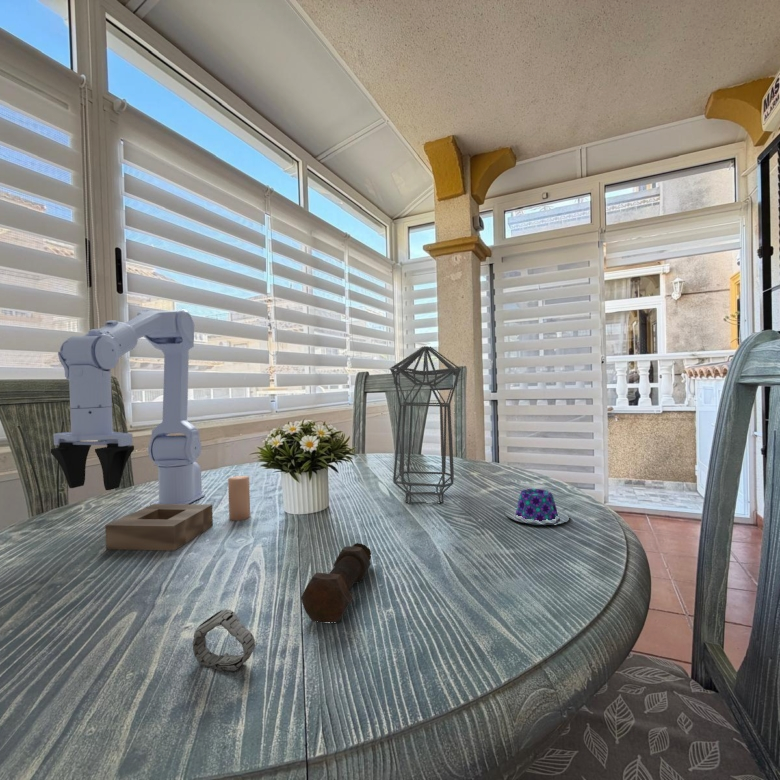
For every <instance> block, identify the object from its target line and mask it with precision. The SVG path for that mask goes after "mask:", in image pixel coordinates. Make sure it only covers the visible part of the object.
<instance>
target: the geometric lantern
mask: <svg viewBox="0 0 780 780" xmlns="http://www.w3.org/2000/svg"><path fill="white" fill-rule="evenodd" d="M430 353H431V354H432V355H433V356H435V357H436V359H438V361H440V363H442V364H443V365H444V366H445V367H446V368H442V369H441V368H440V369H436V368H435V366H434V361H433V360H432V357H431V354H430ZM422 357H423V365H422V367H423V368H422V370H419V369H418V370H417V368H418V366H419V364H420V361H421V359H422ZM416 360H417V361H416ZM415 361H416V363H415V365H414V367H413V368H409V367H410V366H411V365H412V364H413V363H414V362H415ZM428 361H429V362H430V365H431V370H430V369H429V362H428ZM388 370H390V373H391V375H392V377H393V385H394V386H395V391H396V397H397V398H396V399H397V401H398V405H399V408H398V415H397V416H398V419H397V429H396V431H397V432H396V443H395V452H394V453H395V455H394V463H393V464H394V465H393V466H394V468H393V478H392V482H393V484H394V485H395V486H397V487H398V488H399V489H400V490H401V491H403V492H404V494H405V496H404V503H405V502H409V503H408V504H427V503H426V502H427V501H412V495H413V494H414V495H431V496H432V495H433V496H437V497H438V502H441V501H443V502H444V494H445V492H446V491H447V490H448V489H449V488H451V487H452V486H453V485H454V481H455V480H454V479H455V470H454V453H453V452H454V451H453V431H452V414H451V413H452V412H451V403H452V399H453V397H454V393H455V391H456V387H458V381H459V376H460V374H461V373H460V372H461V371H462V368H460V366H458V365H456V364H455V363H454V362H453V361H451V360H450V359H448V358H447V357H445V356H444V355H443V354H442V353H440V352H439V351H437V350H436V349H434V347H432V346H426V345H423V346H420V348H418V349H417V350H416V351H414V352H413V353H411V354H410V355H408V356H406V357H405V358H404V359H402V360H401V361H399V362H397V363H396V364H394V365H392V366H391V367H390V368H389V369H388ZM400 374H401V375H402V376H404V377H405V378H406V379H407V380H409V381H410V382H411V383H413V384H414V385H413V387H411V389H410V391H409V393H408V395H406V397H405V394H404V392H403V390H402V387H401V377H400ZM411 374H412V375H411ZM416 375H419V376H423V379H422V380H420V379H418V378H417V377H416ZM451 375H453V376H454V380H453V384H451V387H450V390H449V392H448V396H447V399H446V401H445V399H444V398H443V396H442V394H441V393H440V391H439V390H438V388H437V386H438V385H439V384H440V383H442V381H444V380H446V379H447V378H448V377H449V376H451ZM429 376H434V378H433V379H431V380H429ZM425 380H426V381H427V382H426V381H425ZM436 381H437V382H436ZM417 382H418V383H417ZM416 386H417V387H418V389H417V390H416V391H415V393H414V395H413V397H412V398H411V401H407V400H408V399H409V397H410V396H411V394H412V391H413V390H414V389H415V387H416ZM423 386H428V387H429V388H430V389H431V391H432V393H433V395H434V397H435V398H436V400H437V402H421V401H420V402H414V401H415V400H416V397H417V396H418V394H419V392H420V390H421V389H422V387H423ZM399 389H400V391H399ZM436 391H437V392H436ZM400 392H401V395H402V397H403V400H404V401H403V402H401V397H400ZM438 395H439V397H440V398H439V397H438ZM440 399H441V400H440ZM441 401H443V402H441ZM408 406H409V407H410V412H409V414H410V415H409V427H408V428H409V430H408V431H409V432H408V433H409V434H408V450H407V465H406V466H407V468H406V470H405V469H404V468H405V429H406V426H405V425H406V417H407V415H406V414H407V407H408ZM414 407H439V414H440V416H439V417H440V419H439V420H440V421H439V422H440V423H439V424H440V447H441V449H440V452H441V456H440V457H441V471H419V470H418V471H416V470H415V471H413V470H410V467H411V463H410V462H411V447H412V432H413V431H412V427H413V413H414V412H413V408H414ZM443 411H444V413H443ZM443 415H444V416H443ZM401 419H402V420H401ZM401 421H402V422H401ZM400 431H401V442H400ZM447 434H448V452H449V471H450V472H446V465H447V463H446V462H447V461H446V460H447V459H446V458H447V456H446V453H447ZM399 442H400V456H399V468H398V467H397V466H398V465H397V464H398V455H399ZM397 468H398V473H397ZM404 474H406V476H407V481H406V479H405V475H404ZM410 474H418V475H419V474H420V475H423V474H424V475H441V476H440V479H439V481H438V483H426V482H425V483H424V482H411V480H410ZM445 475H446V476H449V477H448V478H447V479H446V477H445ZM399 478H401V480H400V481H399V480H398V479H399ZM445 479H446V480H445ZM449 481H450V482H449ZM448 482H449V483H448ZM441 483H442V484H441ZM401 485H402V486H403V487H402V486H401ZM412 486H415V487H435V489H436V490H435V491H412ZM435 492H437V493H435ZM408 495H409V497H408ZM440 495H441V496H440ZM408 498H409V499H408ZM408 500H409V501H408Z"/></svg>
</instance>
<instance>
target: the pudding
mask: <svg viewBox="0 0 780 780" xmlns="http://www.w3.org/2000/svg"><path fill="white" fill-rule="evenodd" d="M516 507H517V509H516V515H518V516H522V517H523V518H525V519H534V520H539V521H542V520H546V519H548V520H552V519H555V517H556V516H558V512H557V510H558V508H557V506H556V501H555V498H554V496H553V493H551V491H548V490H545V489H541V488H540V489H539V488H526V489H522V490H521V491H520V493H519V496H518V501H517V505H516Z"/></svg>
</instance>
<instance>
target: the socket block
mask: <svg viewBox="0 0 780 780" xmlns="http://www.w3.org/2000/svg"><path fill="white" fill-rule="evenodd" d="M213 521H214V520H213V504H191V503H189V504H153V505H150V504H149V505H148V506H146V507H144V508H142V509H140V510H137V511H135V512H132V513H130V514H128V515H125V516H123V517H121V518H119V519H116V520H114V521H112V522H110V523H107V524H105V525H104V527H105V528H104V529H105V531H104V532H105V550H120V551H121V550H123V551H124V550H131V551H174V552H175V551H176V550H177V549H179V548H181V547H182V546H184V545H185V544H186V543H188V542H190V541H192V540H193V539H195V538H196V537H197V536H199V535H200V534H202V533H204V532H205V531H206V530H208V529H209V528H212V527H213V525H214V523H213Z"/></svg>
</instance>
